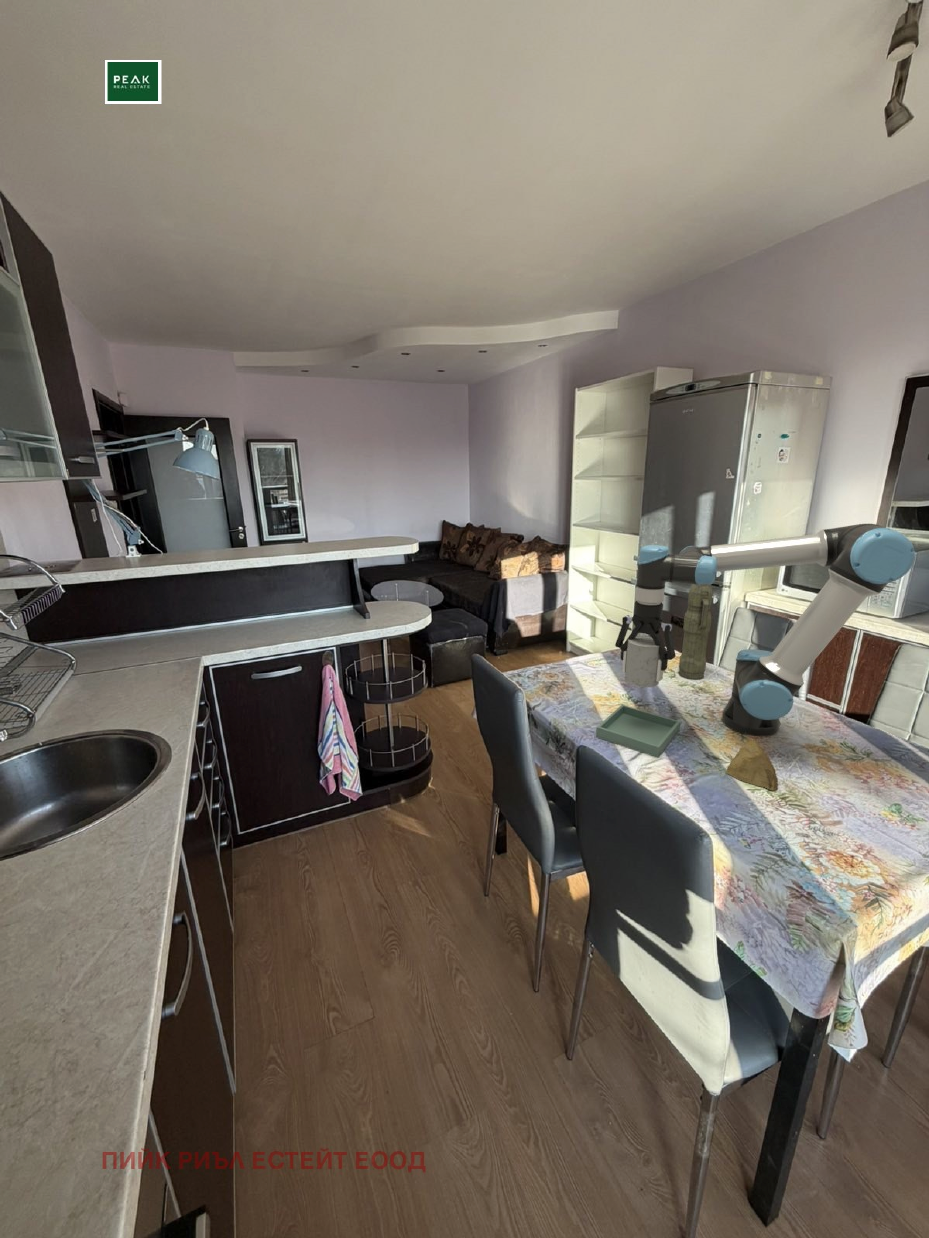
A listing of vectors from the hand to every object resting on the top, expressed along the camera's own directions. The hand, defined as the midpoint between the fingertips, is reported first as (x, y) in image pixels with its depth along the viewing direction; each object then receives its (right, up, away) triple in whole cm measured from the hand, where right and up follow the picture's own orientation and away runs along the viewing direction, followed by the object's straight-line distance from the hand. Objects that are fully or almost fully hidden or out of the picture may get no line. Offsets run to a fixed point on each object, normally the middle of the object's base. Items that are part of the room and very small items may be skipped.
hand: (642, 675), depth 148 cm
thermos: (+32, -5, +40) cm, 52 cm away
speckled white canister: (0, -2, +1) cm, 2 cm away
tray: (-1, -17, +1) cm, 17 cm away
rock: (+20, -24, -22) cm, 38 cm away
